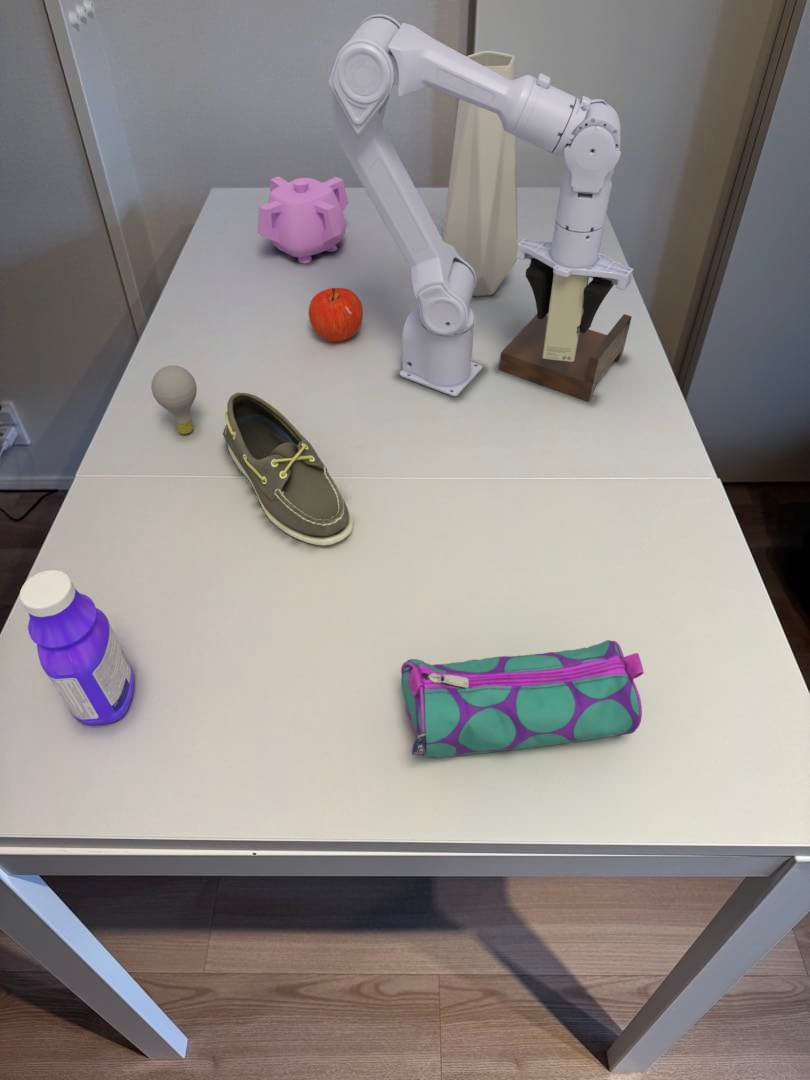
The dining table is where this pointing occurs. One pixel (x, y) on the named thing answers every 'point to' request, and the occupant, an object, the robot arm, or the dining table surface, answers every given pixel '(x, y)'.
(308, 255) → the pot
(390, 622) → the dining table surface
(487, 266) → the vase
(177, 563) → the dining table surface
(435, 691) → the pencil case
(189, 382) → the light bulb
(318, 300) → the apple
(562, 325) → the box
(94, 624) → the bottle
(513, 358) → the shelf
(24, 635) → the dining table surface
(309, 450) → the boat shoe
